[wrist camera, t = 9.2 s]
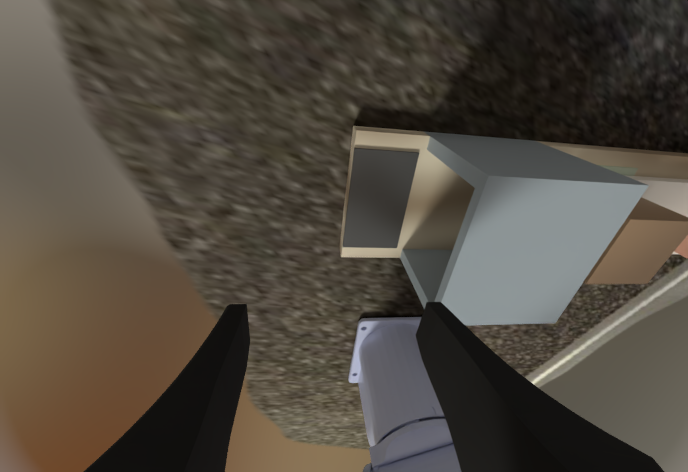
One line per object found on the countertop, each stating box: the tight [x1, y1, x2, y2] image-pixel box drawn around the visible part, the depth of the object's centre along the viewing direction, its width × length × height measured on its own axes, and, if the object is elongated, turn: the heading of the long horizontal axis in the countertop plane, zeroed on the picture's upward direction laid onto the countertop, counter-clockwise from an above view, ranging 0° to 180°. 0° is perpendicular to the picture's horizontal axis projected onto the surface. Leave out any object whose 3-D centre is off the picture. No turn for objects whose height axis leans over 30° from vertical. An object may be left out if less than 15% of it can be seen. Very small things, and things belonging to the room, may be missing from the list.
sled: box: [584, 175, 688, 284], centre depth 20 cm, size 6×17×5 cm, turn 84°
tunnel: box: [400, 132, 649, 325], centre depth 18 cm, size 9×8×8 cm
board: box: [340, 126, 688, 258], centre depth 22 cm, size 9×27×1 cm, turn 84°
